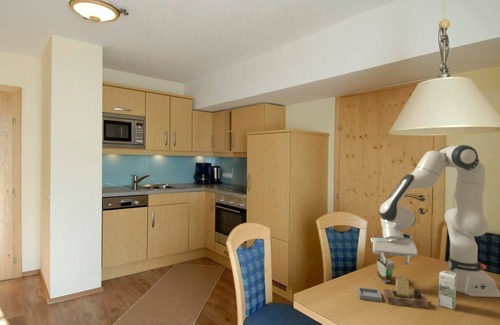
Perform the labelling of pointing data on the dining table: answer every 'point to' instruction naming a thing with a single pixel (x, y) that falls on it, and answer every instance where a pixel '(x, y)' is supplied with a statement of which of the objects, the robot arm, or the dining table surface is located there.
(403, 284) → the gold rectangular block
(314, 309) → the dining table surface
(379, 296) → the tray
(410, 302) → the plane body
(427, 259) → the dining table surface
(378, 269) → the food container
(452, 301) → the syrup box
